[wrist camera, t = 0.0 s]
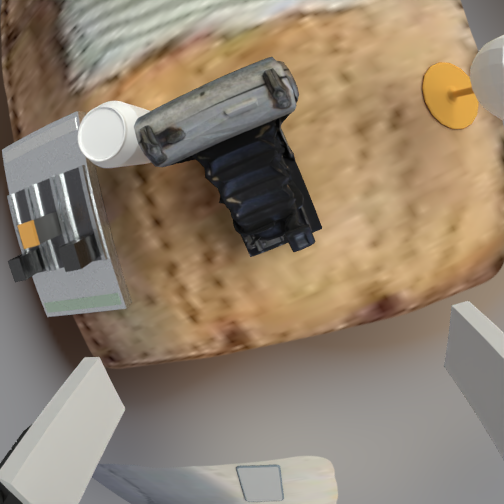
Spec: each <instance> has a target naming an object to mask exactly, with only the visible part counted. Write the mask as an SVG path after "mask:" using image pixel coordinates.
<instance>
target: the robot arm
mask: <svg viewBox="0 0 504 504" xmlns="http://www.w3.org/2000/svg"><path fill="white" fill-rule="evenodd" d="M444 367H445V368H446V370H447V371H448V373H449V374H450V375H451V377H452V378H453V380H454V381H455V383H456V384H457V386H458V387H459V389H460V390H461V392H462V393H463V395H464V396H465V398H466V399H467V401H468V402H469V404H470V406H471V407H472V408H473V410H474V412H475V413H476V415H477V416H478V418H479V420H480V421H481V423H482V424H483V426H484V428H485V429H486V431H487V432H488V434H489V436H490V437H491V439H492V441H493V442H494V444H495V446H496V447H497V449H498V451H499V453H500V454H501V456H502V458H503V460H504V333H503V332H502V331H501V330H500V329H499V328H498V327H497V326H496V325H495V324H494V323H493V322H492V321H490V320H489V319H488V318H487V317H486V316H485V315H484V314H483V313H481V312H480V311H479V310H478V309H477V308H476V307H475V306H474V305H473V304H471V303H470V302H469V301H466V302H462V303H459V304H455V305H452V308H451V319H450V328H449V336H448V344H447V351H446V358H445V364H444ZM124 411H125V407H124V405H123V404H122V402H121V400H120V398H119V396H118V394H117V392H116V390H115V388H114V386H113V384H112V383H111V380H110V378H109V376H108V374H107V372H106V370H105V368H104V366H103V364H102V362H101V359H100V357H85V358H84V359H83V360H82V361H81V362H80V364H79V365H78V366H77V367H76V369H75V370H74V371H73V372H72V374H71V375H70V376H69V377H68V379H67V380H66V381H65V383H64V384H63V385H62V386H61V388H60V389H59V390H58V391H57V393H56V394H55V395H54V397H53V398H52V399H51V400H50V402H49V403H48V405H47V406H46V407H45V409H44V410H43V411H42V412H41V414H40V415H39V416H38V418H37V419H36V420H35V422H34V423H33V424H32V425H31V426H29V427H28V428H27V429H26V430H24V431H23V433H22V434H21V435H20V437H19V438H18V439H17V443H16V442H15V444H14V445H13V446H12V450H10V451H9V452H8V453H7V455H6V456H5V458H4V459H3V461H2V462H1V463H0V504H79V502H80V500H81V498H82V495H83V493H84V491H85V489H86V487H87V485H88V483H89V481H90V479H91V477H92V475H93V473H94V470H95V468H96V466H97V464H98V462H99V460H100V458H101V456H102V454H103V452H104V450H105V448H106V446H107V444H108V442H109V440H110V438H111V436H112V434H113V432H114V430H115V428H116V426H117V424H118V422H119V420H120V419H121V417H122V415H123V413H124Z"/></svg>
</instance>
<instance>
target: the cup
mask: <svg viewBox="0 0 504 504" xmlns="http://www.w3.org/2000/svg"><path fill="white" fill-rule="evenodd" d="M422 90H423V95H424V99H425V103H426V105H427V106H428V108H429V110H430V112H431V114H432V115H433V116H434V117H435V118H436V119H437V120H438V121H439V122H440V123H441V124H442V125H445V126H447V127H449V128H451V129H464V128H465V127H467V126H469V125H470V124H472V122H473V121H474V119H475V117H476V115H477V111H478V103H479V102H480V104H481V105H482V106H483V107H484V108H485V109H486V110H487V111H489V112H490V113H492V114H493V115H495V116H497V117H498V118H500V119H502V120H504V35H503V36H501V37H498V38H496V39H494V40H492V41H490V42H489V43H487V44H485V45H484V46H483V48H482V49H481V50H480V51H479V52H478V53H477V55H476V57H475V59H474V61H473V63H472V66H471V70H470V78H469V77H468V76H467V75H466V73H465V72H464V71H463V70H462V69H461V68H459V67H457V66H455V65H453V64H451V63H442V62H439V63H437V64H435V65H433V66H431V67H429V69H428V70H427V72H426V74H425V75H424V79H423V86H422ZM478 101H479V102H478Z"/></svg>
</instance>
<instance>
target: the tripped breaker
mask: <svg viewBox="0 0 504 504" xmlns="http://www.w3.org/2000/svg"><path fill="white" fill-rule="evenodd" d="M17 226H18V229H19V233H20V237H21V240H22V244H23V247H24V249H27V248H30V247H34V246H37V245H39V244H41V243H43V242H45V241H48V240H50V239H52V238H54V237H56V236H58V235H60V234H62V231H61V228H60V224H59V220H58V216H57V212H54V213H51V214H48V215H45V216H42V217H39V218H36V219H33V220H31V221H28V222H25V223H23V224H20V225H17Z"/></svg>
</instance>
